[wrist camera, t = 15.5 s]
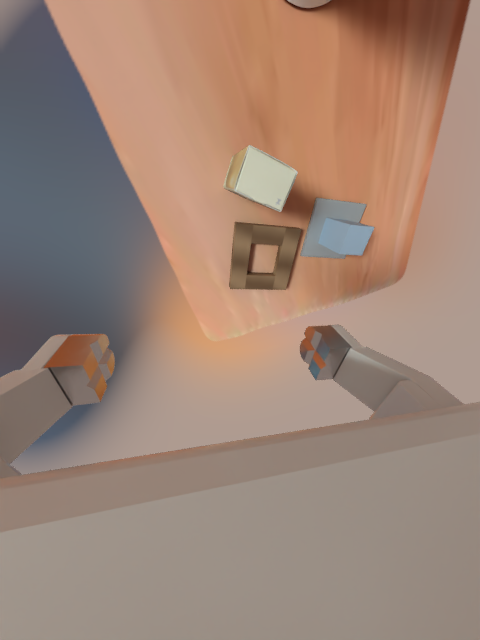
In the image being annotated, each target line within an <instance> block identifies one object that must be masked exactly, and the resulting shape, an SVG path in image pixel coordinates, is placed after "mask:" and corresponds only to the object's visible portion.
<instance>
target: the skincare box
mask: <svg viewBox="0 0 480 640" xmlns="http://www.w3.org/2000/svg"><path fill="white" fill-rule="evenodd" d="M296 176H297V171H296V170H294V169H293V168H291V167H290V166H288V165H287V164H285V163H283V162H281V161H280V160H278V159H276V158H274V157H272V156H270V155H269V154H267V153H265V152H263V151H261V150H259V149H257V148H255V147H252V146H251V145H249V146H247V147H246V148H244V149H243V150H241V151H240V152H238V153H237V154H236V155H234V156H233V157H232V159H231V162H230V166H229V169H228V172H227V175H226V179H225V182H224V188H225V189H227V190H229V191H231V192H233V193H235V194H237V195H239V196H242V197H244V198H246V199H248V200H251V201H253V202H256V203H258V204H261V205H264V206H266V207H268V208H271V209H274V210H276V211H279V212H281V211H282V209H283V206H284V204H285V202H286V200H287V197H288V195H289V193H290V191H291V188H292V186H293V183H294V181H295V178H296Z"/></svg>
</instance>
